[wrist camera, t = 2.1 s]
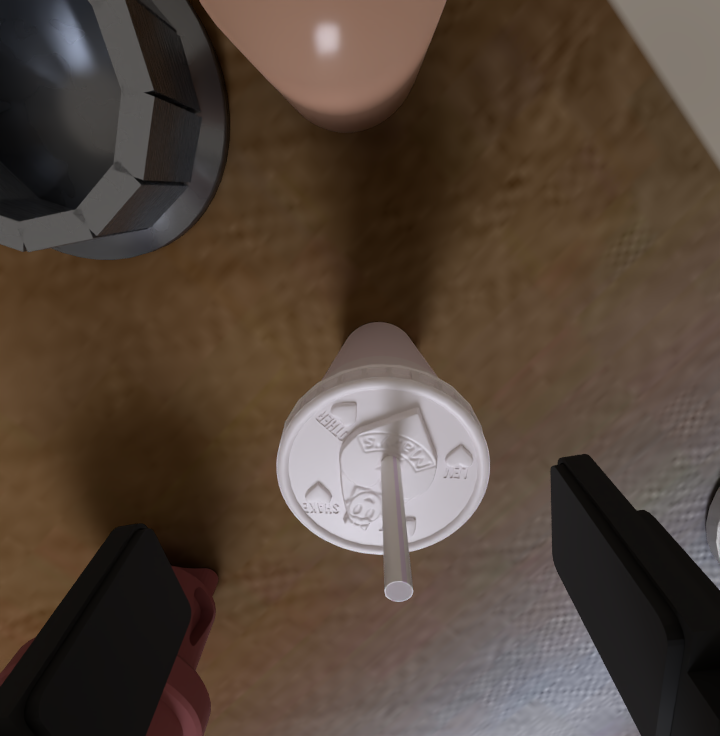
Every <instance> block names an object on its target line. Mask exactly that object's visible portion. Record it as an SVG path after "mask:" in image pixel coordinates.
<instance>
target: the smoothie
mask: <svg viewBox="0 0 720 736" xmlns="http://www.w3.org/2000/svg"><path fill="white" fill-rule="evenodd" d="M489 473H490V458H489V451H488V447H487V443H486V440H485V438H484V435H483V431H482V426H481V424H480V422H479V420H478V419H477V417H476V415H475V413H474V411H473V409H472V407H471V405H470V404H469V403H468V402H467V401H466V400H465V399H464V398H463V397H462V396H461V395H460V394H459V393H458V392H457V391H456V390H455V389H454V388H453V387H452V386H451V385H449V384H448V383H446V382H444V381H443V380H441V379H439V378H438V377H437V375H436V374H435V373H434V371H433V370H432V368H431V367H430V366H429V364H428V363H427V361H426V360H425V359H424V357H423V356H422V355H421V353H420V352H419V350H418V349H417V348H416V346H415V345H414V343H413V342H412V341H411V339H410V338H409V336H408V335H407V334H406V333H405V332H404V331H403V330H402V329H400V328H399V327H397V326H395V325H392V324H389V323H385V322H373V323H368V324H365V325H363V326H361V327H359V328H357V329H356V330H355V331H353V332H352V333H351V334H350V336H349V337H348V338H347V340H346V341H345V343H344V345H343V346H342V348H341V350H340V351H339V353H338V354H337V356H336V358H335V359H334V361H333V363H332V364H331V366H330V367H329V369H328V371H327V372H326V374H325V376H324V377H323V379H322V381H320V382H318V383H317V384H316V385H315V386H313V387H312V388H311V389H310V390H309V391H308V392H307V393H306V394H305V395H304V396H303V397H301V398H300V399H299V400H298V401H297V403H296V405H295V406H294V408H293V410H292V411H291V413H290V415H289V416H288V418H287V420H286V421H285V425H284V429H283V433H282V437H281V441H280V445H279V449H278V454H277V477H278V482H279V486H280V490H281V492H282V495H283V497H284V499H285V501H286V503H287V505H288V506H289V508H290V510H291V511H292V512H293V514H294V515H295V516H296V517H297V519H298V520H299V521H300V522H301V523H302V524H303V525H304V526H306V527H307V528H308V529H309V530H310V531H312V532H313V533H314V534H316V535H317V536H319V537H321V538H322V539H324V540H326V541H328V542H330V543H332V544H334V545H337V546H339V547H342V548H345V549H348V550H352V551H356V552H360V553H368V554H378V555H384V589H385V595H386V597H387V598H388V599H390V600H392V601H396V602H402V601H405V600H408V599H409V598H410V597H411V596H412V594H413V586H412V576H411V566H410V556H409V552H410V551H415V550H419V549H422V548H425V547H427V546H430V545H432V544H435V543H437V542H439V541H441V540H443V539H444V538H446V537H447V536H449V535H451V534H452V533H453V532H455V531H456V530H457V529H459V528H460V527H461V526H462V525H463V524H464V523H465V522H466V521H467V520H468V519H469V518H470V517H471V516H472V514H473V513H474V512H475V510H476V509H477V507H478V506H479V504H480V502H481V500H482V498H483V496H484V494H485V491H486V488H487V485H488V480H489Z"/></svg>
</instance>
